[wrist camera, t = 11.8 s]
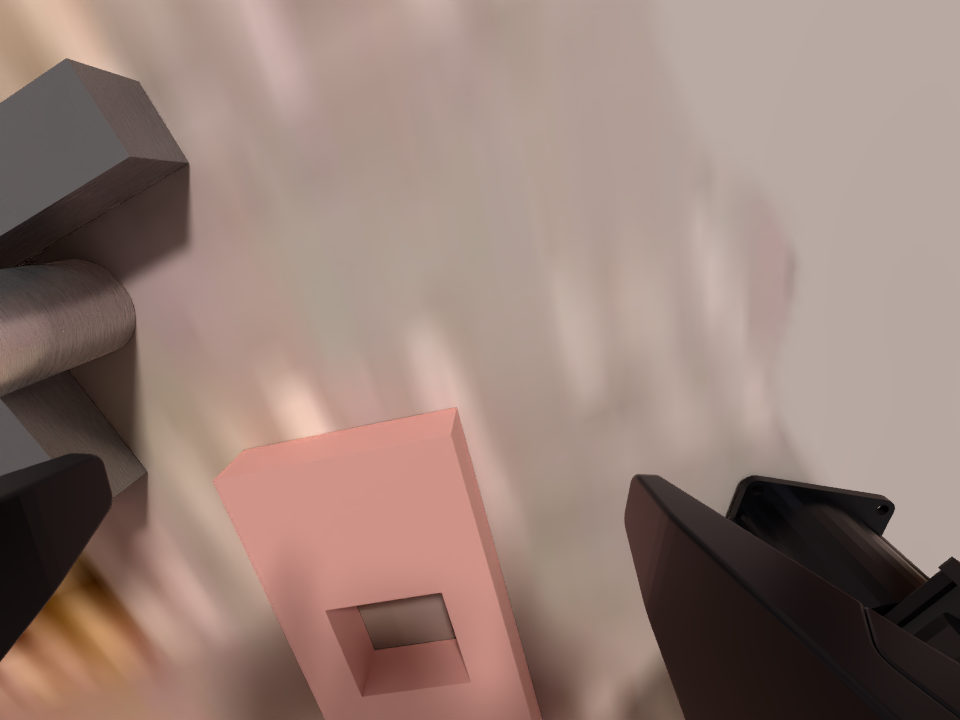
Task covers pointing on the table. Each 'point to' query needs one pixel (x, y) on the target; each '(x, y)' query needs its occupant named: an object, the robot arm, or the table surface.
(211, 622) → the table surface
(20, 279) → the axle
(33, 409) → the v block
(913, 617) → the robot arm
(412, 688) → the beam plate
